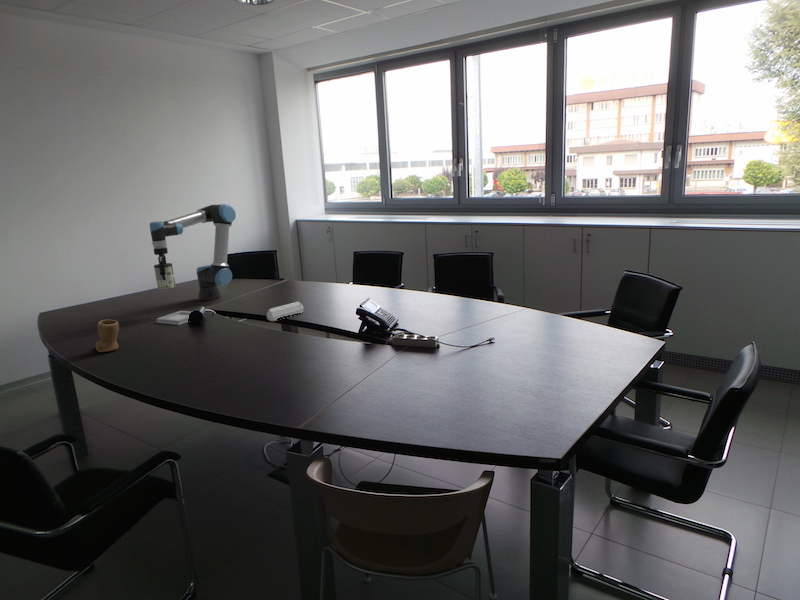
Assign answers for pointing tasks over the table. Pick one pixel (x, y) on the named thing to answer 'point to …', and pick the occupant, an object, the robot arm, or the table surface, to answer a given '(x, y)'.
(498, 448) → the table surface
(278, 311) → the crystal
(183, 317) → the plate
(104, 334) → the stone cup
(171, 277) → the coffee can
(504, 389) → the table surface
